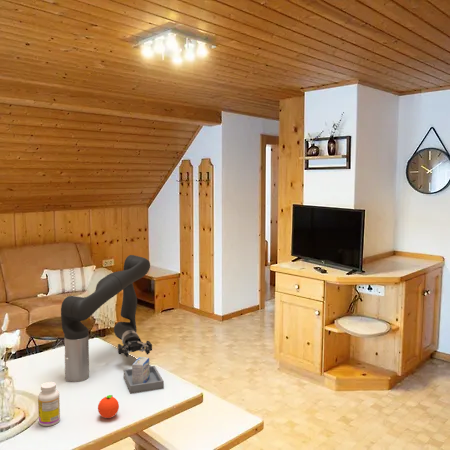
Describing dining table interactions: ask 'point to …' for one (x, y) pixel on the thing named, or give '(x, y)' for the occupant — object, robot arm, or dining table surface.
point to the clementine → (108, 407)
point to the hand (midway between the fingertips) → (137, 353)
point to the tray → (151, 384)
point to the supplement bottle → (48, 404)
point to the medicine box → (140, 370)
